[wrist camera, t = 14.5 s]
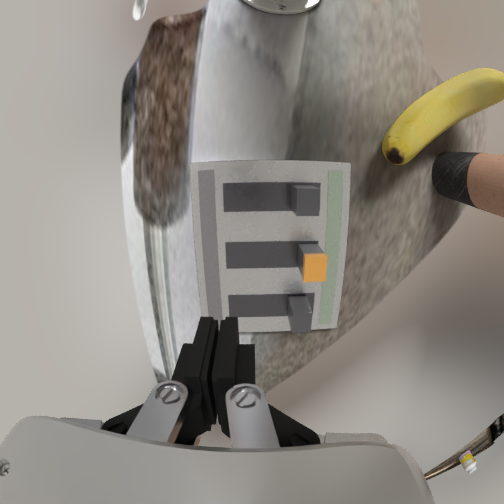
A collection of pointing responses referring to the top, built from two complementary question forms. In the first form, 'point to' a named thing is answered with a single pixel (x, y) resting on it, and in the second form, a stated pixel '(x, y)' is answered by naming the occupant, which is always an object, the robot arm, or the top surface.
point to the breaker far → (299, 314)
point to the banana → (441, 112)
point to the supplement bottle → (468, 462)
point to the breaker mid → (312, 262)
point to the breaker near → (305, 200)
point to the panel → (267, 239)
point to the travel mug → (471, 179)
